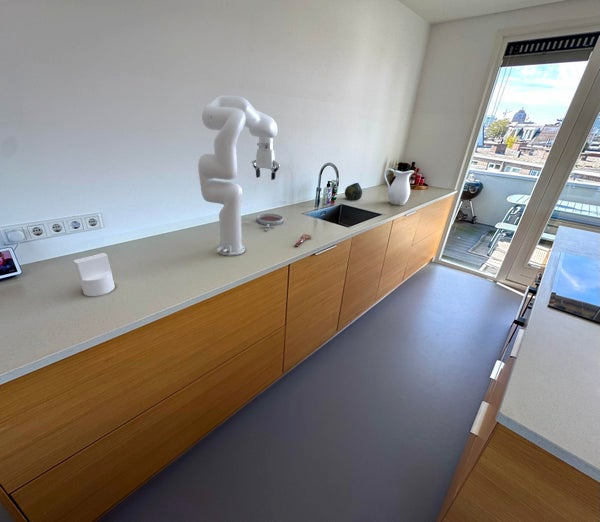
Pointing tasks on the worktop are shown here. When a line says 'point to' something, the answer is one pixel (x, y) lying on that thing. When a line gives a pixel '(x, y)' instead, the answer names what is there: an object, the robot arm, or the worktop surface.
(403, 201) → the pitcher
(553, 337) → the worktop surface
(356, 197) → the squash
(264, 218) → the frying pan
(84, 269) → the cylinder with rectangular tab
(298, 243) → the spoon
